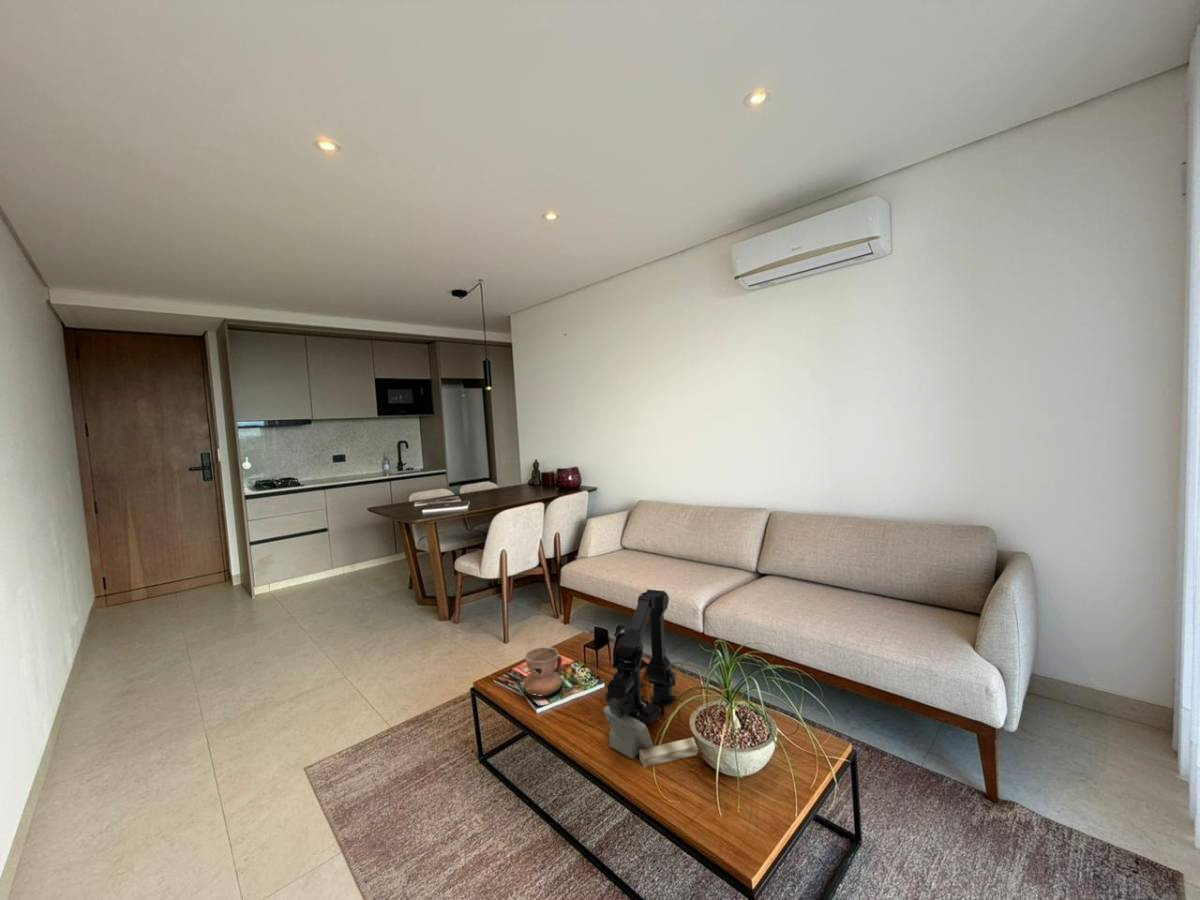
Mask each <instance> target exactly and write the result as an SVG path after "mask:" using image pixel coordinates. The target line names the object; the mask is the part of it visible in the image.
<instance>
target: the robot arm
mask: <svg viewBox="0 0 1200 900" xmlns="http://www.w3.org/2000/svg"><path fill="white" fill-rule="evenodd" d="M669 600H670V598H669V594H668V592H666V591H665V590H659V589H657V590H656V589H650V588H649V589H647V590H646V591H645V592H641V593H640V595H638V598H637V606H636V608H635V609H634V610H635V611H634V614H633V616H632V619H631V622H630V625H629V627H628V630H627V631H626V632H625V633H624V634H623V635H621V636H620V639H619V641H618V643H617V644H616V647H615V651H614V657H613V662H612V665H611V666H612V668H613V669H616V672H615V673H614V674H613V675H612V679H611V680H610V681H609V682H608V684H607V692H606V694H605V701H606V703H608V704H607V706H609V709H610V711H611V713H612V714H614V715H616V716H617V717H618V718H622V717H623V716H624V715H626V716H627V715H629V716H631V717H633V718H635V719H637V720H639V721H641V722H643V723H644V724H645V725H651V724H652V723H653V722H656V720H658V719H660V718H661V717H662V708H660V707H659V706H657V705H655V704H653V703H652V702H649V703H648V704H646V703H645V696H643V695H642V689H643V688H644V687H645V686H644V683H643V682H641V681H642V680H641V664H642V660H643V658H644V657H643V656H644V644H643V636H644V633H645V631H646V628H647V625H648V621H649V627H650V643H651V644H650V646H651V659H650V660H649V662H648V664H647V665H646V676H647V681H648V683H649V684H653V689H652V694H653V695H652V697H651V698H650V700H651V701H653V702H655V703H656V704H659V705H661V706H663V707H666V706H667V705H668V704H670V703H672V702H673V701H675V700H676V696H674V695H673V687H674V686H676V685H677V683H676V682H677V676H676V675H677V674H676V673H675V672H674V671H673V670H672V663H671V661H670V659H669V658H668V657H667V655H666V640H665V639H666V637H665V620H664V617H665V616H664V614H665V613H666V611H667V609H668V608H669V606H668V605H669ZM619 660H621V661H619Z"/></svg>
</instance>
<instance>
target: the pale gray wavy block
mask: <svg viewBox="0 0 1200 900" xmlns="http://www.w3.org/2000/svg"><path fill="white" fill-rule="evenodd" d="M693 737H694V736H693ZM693 737H689V738H685V739H681V740H675V741H672V742H668V743H667V742H666V743H664V744H663V743H662V744H658V745H653V747H651V748H645V749H641V750H639V754H638V755H639V760H640V762H641V764H642V766H643V768H647V767H652V766H655V765H656V766H657V765H661V764H664V763H669V762H672V761H677V760H681V759H685V758H688V757H693V756H698V755H699V754H698V748H697V745H696V743H695V740H694V738H693ZM697 754H698V755H697Z"/></svg>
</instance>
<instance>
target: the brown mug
mask: <svg viewBox="0 0 1200 900" xmlns="http://www.w3.org/2000/svg"><path fill="white" fill-rule="evenodd" d="M524 658H525V660H524V661H525V663H526V666H527V667H524V668H523V669H522V672H523V674H527V673H529V672H530V673H529V674H527V676H526V677H525V678H524V679H523V689H524V688H525V689H524V690H526V691H527V692H528V693H531V694H536V695H546V694H551V693H553V692H555V691H556V692H557V691H559V690H558V689H560V688H561V687H562V684H563V678H562V676H561V675H560V670H561V668H562V664H563V663H562V662H563V658H562V656H561V654H559V652H558V650H557V649H556V648H554V647H551V646H540V647H534V648H532V649H530V650H528V651H527V652H526V653H525V655H524ZM526 691H525V692H526ZM527 692H526V693H527ZM556 692H555V693H556ZM528 693H527V694H528ZM553 694H554V693H553ZM551 695H552V694H551Z"/></svg>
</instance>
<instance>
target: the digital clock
mask: <svg viewBox="0 0 1200 900" xmlns="http://www.w3.org/2000/svg"><path fill="white" fill-rule="evenodd" d="M603 714H604V716H605V719H606V721H607V725H608V727H609V729H610V730H609V732H608V741H609V742H608V745H609V747H610V748H611V749H614V750H615V751H617V752H619V753H621V754H622V755H624V756H625V757H627V758H630V759H631V760H633V759H634V758H635V757H636V756H638V755H639V750H641V749H645V748H651V747H654V744H653V741H652V738H651V735H650V733H649V730H648V727H647V724H646V723H644V722H642V721H641V720H640V721H639V720H637V719H635V718H633V717H631V716H629V715H627V716H626V715H624V716H623V717H622V718H618V717H617V716H616V715H614V714H612V713H611V711H610V709H609V706H608V705H607V706H605V707H604V708H603Z"/></svg>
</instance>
